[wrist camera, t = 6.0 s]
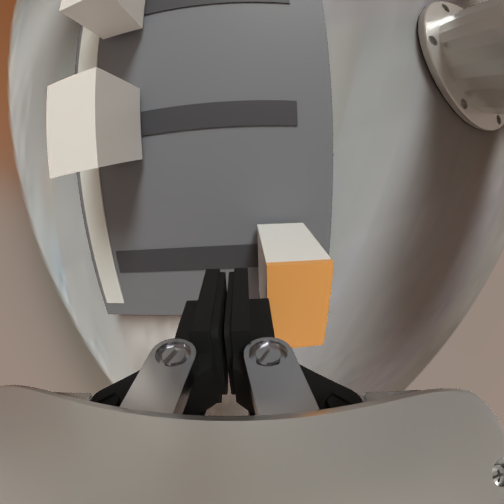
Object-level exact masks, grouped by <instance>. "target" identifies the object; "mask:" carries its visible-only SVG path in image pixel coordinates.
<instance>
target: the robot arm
mask: <svg viewBox="0 0 504 504" xmlns="http://www.w3.org/2000/svg"><path fill="white" fill-rule="evenodd" d="M418 34H419V40H420V45H421V48H422V52H423V55H424V58H425V61H426V63H427V66H428V68H429V71H430V73H431V75H432V77H433V79H434V81H435V83H436V85H437V86H438V88H439V89H440V91H441V93H442V94H443V96H444V98H445V99H446V100H447V102H448V103H449V104H450V106H451V107H452V109H453V110H454V111H455V112H456V113H457V114H458V115H459V116H460V117H461V118H462V119H463V120H464V121H466V122H467V123H468V124H469V125H471V126H473V127H475V128H477V129H481V130H491V131H494V130H497V129H499V128H501V127H502V126H503V125H504V0H488V1H485V2H482V3H479V4H476V5H474V6H471V7H468V8H465V9H463V8H461V7H459V6H457V5H455V4H453V3H450V2H446V1H437V2H434V3H431V4H430V5H428V6H426V7H425V8H424V9H423V11H422V12H421V13H420V17H419V21H418ZM228 371H229V379H230V387H231V394H236V401H237V403H239V404H240V405H241V406H243V407H244V408H245V409H247V410H248V416H210V407H212V406H213V405H214V404H216V403H221V402H222V394H227V391H228ZM0 504H504V427H503V425H502V424H501V422H500V421H499V419H498V418H497V416H496V415H495V414H494V412H493V411H492V410H491V408H490V407H489V406H488V405H487V404H486V403H485V401H483V400H482V399H481V398H480V397H479V396H477V395H476V394H474V393H472V392H470V391H466V390H462V389H441V388H440V389H429V390H410V391H395V392H366V394H365V396H359V395H358V394H357V393H355V392H354V391H352V390H350V389H348V388H346V387H344V386H342V385H340V384H337V383H335V382H333V381H331V380H329V379H327V378H325V377H323V376H321V375H319V374H317V373H315V372H313V371H311V370H309V369H307V368H305V367H303V366H301V365H300V364H299V363H298V361H297V359H296V356H295V354H294V352H293V350H292V348H291V347H290V345H289V344H288V343H286V342H285V341H284V340H281V339H278V338H275V334H274V328H273V322H272V316H271V309H270V303H269V298H260V299H249V285H248V268H234V272H229V277H228V288H227V285H226V274H225V272H220V269H206V271H205V275H204V279H203V283H202V286H201V290H200V294H199V298H198V300H188V301H186V304H185V307H184V310H183V313H182V317H181V320H180V323H179V326H178V330H177V333H176V336H175V338H173V339H168V340H165V341H162V342H160V343H159V344H157V345H156V346H155V347H154V348H153V349H152V351H151V352H150V354H149V356H148V358H147V359H146V361H145V363H144V364H143V366H142V368H141V370H139V371H138V372H136V373H134V374H132V375H130V376H128V377H126V378H124V379H122V380H120V381H118V382H116V383H114V384H112V385H110V386H109V387H106V388H104V389H102V390H101V391H99V392H98V393H96V394H95V395H94V396H92V395H91V393H62V392H51V391H47V390H43V389H39V388H34V387H28V386H21V385H4V386H0Z"/></svg>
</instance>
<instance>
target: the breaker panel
mask: <svg viewBox="0 0 504 504" xmlns="http://www.w3.org/2000/svg"><path fill="white" fill-rule="evenodd" d="M94 67H98V68H100V69H102V70H104V71H106V72H108V73H110V74H112V75H114V76H116V77H118V78H120V79H122V80H124V81H126V82H128V83H130V84H132V85H134V86H136V87H138V88H140V123H141V143H142V158H143V159H140V160H134V161H129V162H123V163H118V164H113V165H108V166H104V167H99V168H94V169H89V170H84V171H80V172H77V177H78V186H79V193H80V200H81V207H82V213H83V218H84V224H85V229H86V234H87V239H88V243H89V248H90V252H91V256H92V260H93V264H94V268H95V272H96V276H97V279H98V283H99V286H100V290H101V293H102V296H103V300H104V303H105V306H106V309H107V312H108V314H123V315H182V313H183V310H184V307H185V304H186V301H188V300H198V298H199V294H200V290H201V286H202V283H203V279H204V275H205V271H206V269H220V272H225V274H226V285H227V288H228V277H229V272H234V268H248V285H249V299H260V294H259V272H258V234H257V224H281V223H304V225H305V226H306V227H307V228H308V230H309V231H310V232H311V233H312V235H313V236H314V237H315V239H316V240H317V241H318V242H319V244H320V245H321V246H322V247H323V249H324V250H325V251H326V253H327V254H328V255H329V247H330V233H331V215H332V189H333V118H332V94H331V77H330V64H329V52H328V42H327V33H326V25H325V17H324V10H323V3H322V0H145V7H144V17H143V27H142V29H138V30H134V31H130V32H126V33H123V34H119V35H116V36H113V37H110V38H107V39H104V40H103V39H102V38H100V37H99V36H97V35H96V34H94V33H93V32H91V31H90V30H88V29H87V28H85V27H84V26H82V25H81V27H80V33H79V40H78V47H77V56H76V66H75V74H78V73H80V72H83V71H86V70H89V69H91V68H94Z"/></svg>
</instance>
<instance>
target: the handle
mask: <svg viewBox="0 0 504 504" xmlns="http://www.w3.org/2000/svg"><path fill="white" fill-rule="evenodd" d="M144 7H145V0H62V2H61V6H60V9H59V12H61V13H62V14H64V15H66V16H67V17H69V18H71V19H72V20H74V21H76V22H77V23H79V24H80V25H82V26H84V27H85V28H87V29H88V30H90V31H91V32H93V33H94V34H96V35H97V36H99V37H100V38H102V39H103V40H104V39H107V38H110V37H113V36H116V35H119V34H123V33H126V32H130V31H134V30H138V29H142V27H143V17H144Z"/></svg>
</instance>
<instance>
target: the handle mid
mask: <svg viewBox="0 0 504 504" xmlns="http://www.w3.org/2000/svg"><path fill="white" fill-rule="evenodd" d="M46 126H47V151H48V164H49V174H50V179H51V178H54V177H58V176H63V175H67V174H71V173H75V172H80V171H84V170H89V169H94V168H99V167H104V166H108V165H113V164H118V163H123V162H129V161H134V160H140V159H143V158H142V143H141V123H140V88H138V87H136V86H134V85H132V84H130V83H128V82H126V81H124V80H122V79H120V78H118V77H116V76H114V75H112V74H110V73H108V72H106V71H104V70H102V69H100V68H98V67H94V68H91V69H89V70H86V71H83V72H80V73H78V74H75V75H72V76H70V77H67V78H65V79H62V80H60V81H58V82H55V83H53V84H51V85H49V86H47V110H46Z"/></svg>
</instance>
